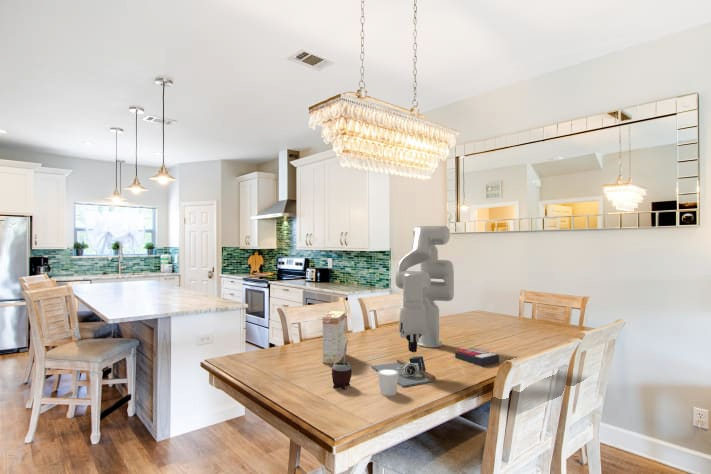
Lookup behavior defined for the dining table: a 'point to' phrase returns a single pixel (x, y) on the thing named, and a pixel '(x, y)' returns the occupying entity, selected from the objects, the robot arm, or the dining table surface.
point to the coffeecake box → (333, 336)
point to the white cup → (388, 381)
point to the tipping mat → (407, 381)
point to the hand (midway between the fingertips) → (412, 351)
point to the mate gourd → (341, 373)
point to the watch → (412, 367)
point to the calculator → (477, 356)
